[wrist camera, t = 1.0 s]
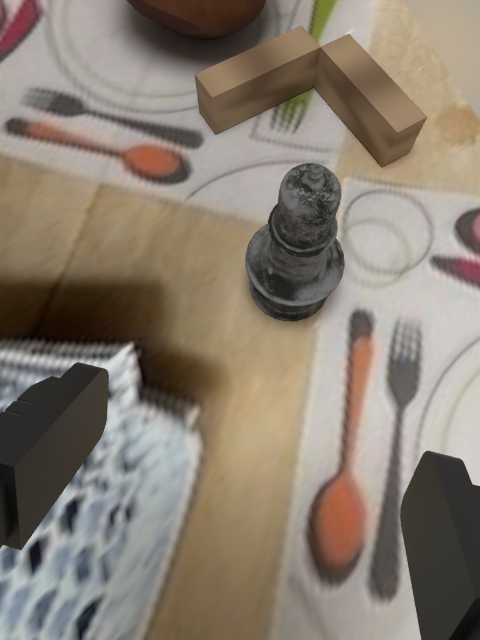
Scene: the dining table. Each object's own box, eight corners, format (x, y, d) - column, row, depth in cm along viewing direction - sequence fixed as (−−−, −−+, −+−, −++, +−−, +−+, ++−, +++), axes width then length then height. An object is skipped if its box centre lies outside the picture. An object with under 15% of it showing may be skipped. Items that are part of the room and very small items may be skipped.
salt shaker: (323, 240, 31) (370, 102, 19) (341, 319, 29) (404, 218, 17) (239, 250, 30) (236, 117, 19) (251, 331, 28) (256, 236, 17)
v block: (406, 172, 32) (424, 137, 29) (193, 130, 34) (187, 93, 31) (418, 89, 35) (437, 48, 32) (220, 53, 36) (218, 11, 33)
